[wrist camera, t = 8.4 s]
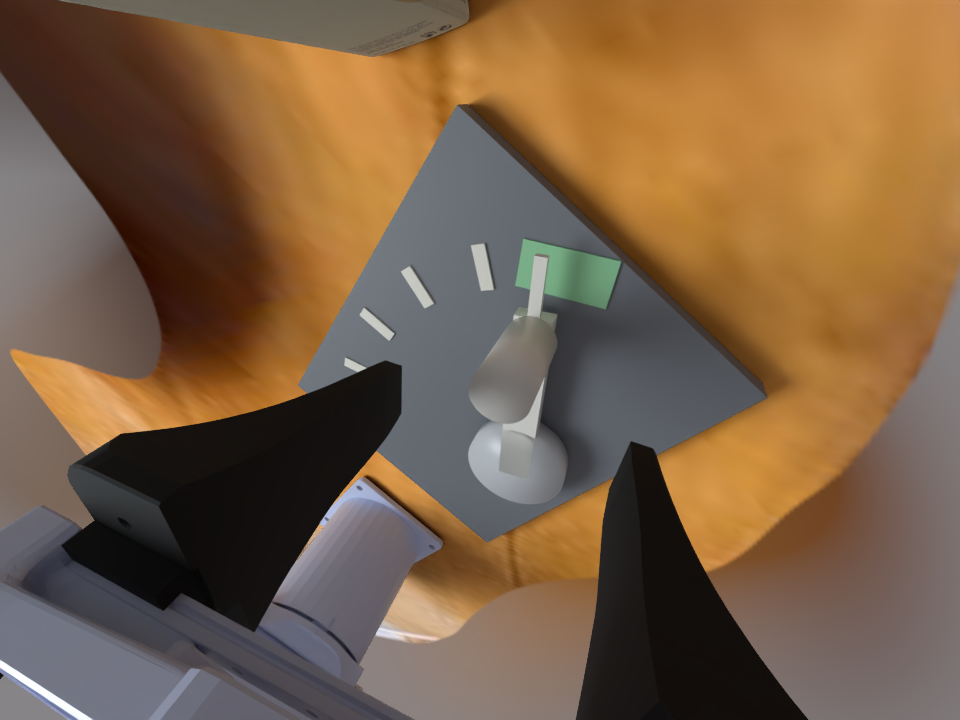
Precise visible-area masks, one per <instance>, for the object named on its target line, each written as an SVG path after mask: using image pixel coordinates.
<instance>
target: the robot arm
mask: <svg viewBox="0 0 960 720" xmlns="http://www.w3.org/2000/svg"><path fill="white" fill-rule="evenodd" d="M401 411H402V366H401V365H398V364H395V363H392V362H389V361H386V360H385V361H382V362H380V363H377V364H375V365H373V366H370V367H368V368H366V369H364V370H362V371H359V372H357V373H355V374H353V375H351V376H348V377H346V378H344V379H341V380H339V381H337V382H335V383H332V384H330V385H328V386H325V387H323V388H320V389H318V390H315V391H313V392H310V393H308V394H305V395H302V396H300V397H297V398H295V399H292V400H289V401H286V402H283V403H280V404H277V405H274V406H270V407H267V408H264V409H261V410H257V411H253V412H249V413H245V414H241V415H237V416H233V417H229V418H224V419H220V420H215V421H210V422H205V423H200V424H194V425H188V426H182V427H175V428H168V429H160V430H151V431H143V432H134V433H123V434H120V435H118V436H117V437H115V438H114V439H112V440H110V441H109V442H107V443H106V444H104V445H102V446H101V447H99V448H98V449H96V450H94V451H93V452H91V453H90V454H88V455H86V456H85V457H83V458H82V459H80V460H78V461H77V462H75V463H74V464H72V465H71V466H70V467H69V470H68V478H69V482H70V484H71V485H72V487H73V489H74V490H75V492H76V493H77V495H78V496H79V498H80V499H81V501H82V502H83V504H84V505H85V507H86V508H87V509H88V511H89V513H90V514H91V516H92V517H93V518H94V520H95V521H93V522H92V523H91V524H89V525H88V526H87V527H85V528H84V529H82V528H81V527H79V526H78V525H77V524H76V523H75V522H73V521H72V520H70V519H68V518H66V517H64V516H62V515H61V514H59V513H57V512H55V511H53V510H51V509H49V508H47V507H45V506H37V507H36V508H34V509H33V510H31V511H29V512H28V513H26V514H25V515H23V516H22V517H20V518H19V519H17V520H16V521H14V522H13V523H11V524H10V525H8V526H7V527H5V528H3V529H2V530H0V673H2V674H3V675H5V676H6V677H8V678H9V679H10V680H12V681H13V682H15V683H16V684H18V685H19V686H20V687H22V688H23V689H25V690H26V691H28V692H29V693H31V694H32V695H33V696H35V697H36V698H38V699H39V700H41V701H42V702H44V703H45V704H46V705H48V706H49V707H51V708H52V709H53V710H55V711H56V712H58V713H59V714H61V715H62V716H64V717H65V718H66V719H68V720H414V719H413V718H411V717H409V716H407V715H405V714H403V713H402V712H400V711H398V710H396V709H394V708H392V707H390V706H388V705H387V704H385V703H383V702H381V701H379V700H378V699H376V698H374V697H372V696H370V695H368V694H366V693H365V692H363V689H362V687H360V686H359V685H358V684H356V683H357V682H358V680H359V678H360V676H361V674H362V672H363V670H364V669H363V668H362V667H361V666H360V665H359V664H360V662H361V660H362V658H363V656H364V654H365V653H366V651H367V649H368V647H369V645H370V643H371V642H372V640H373V638H374V636H375V634H376V632H377V630H378V629H379V627H380V625H381V623H382V621H383V619H384V617H385V616H386V614H387V612H388V610H389V608H390V606H391V604H392V603H393V601H394V599H395V597H396V595H397V593H398V591H399V590H400V588H401V586H402V584H403V582H404V580H405V578H406V577H407V575H408V573H409V571H410V569H411V567H412V565H413V564H415V563H416V562H418V561H420V560H422V559H423V558H425V557H427V556H429V555H430V554H432V553H434V552H436V551H438V550H439V549H441V547H442V545H443V542H442V540H441V539H440V538H439V537H437V536H436V535H435V534H434V533H433V532H431V531H430V530H429V529H428V528H426V527H425V526H424V525H423V524H422V523H420V522H419V521H418V520H417V519H416V518H414V517H413V516H412V515H411V514H409V513H408V512H407V511H406V510H405V509H403V508H402V507H401V506H400V505H398V504H397V503H396V502H395V501H394V500H392V499H391V498H390V497H389V496H388V495H386V494H385V493H384V492H383V491H381V490H380V489H379V488H378V487H377V486H375V485H374V484H373V483H372V482H371V481H369V480H368V479H367V478H365V477H360V478H359V479H358V480H357V481H356V482H355V483H354V484H353V485H352V486H351V487H350V488H349V489H348V490H347V491H346V492H345V493H344V494H343V495H342V496H341V497H340V498H339V499H338V500H337V501H336V502H335V503H334V501H335V500H336V499H337V498H338V496H339V495H340V494H341V492H342V491H343V490H344V489H345V487H346V486H347V485H348V484H349V483H350V481H351V480H352V479H353V478H354V477H355V475H356V474H357V473H358V472H359V471H360V470H361V468H362V467H363V466H364V465H365V464H366V462H367V461H368V460H369V459H370V458H371V456H372V455H373V454H374V453H375V452H376V450H377V449H378V448H379V447H380V445H381V444H382V443H383V442H384V440H385V439H386V438H387V436H388V435H389V433H390V432H391V430H392V429H393V427H394V425H395V424H396V422H397V420H398V419H399V417H400V415H401ZM333 503H334V504H333ZM332 504H333V505H332ZM319 524H321V525H322V526H323V529H322V530H321V531H320V532H319V534H318V535H317V536H316V537H315V539H314V540H313V541H312V542H311V544H310V545H309V546H308V547H307V549H306V550H305V551H304V553H303V554H302V555H301V556H300V558H299V559H298V560H297V558H298V556H299V555H300V553H301V551H302V550H303V548H304V547H305V545H306V544H307V542H308V541H309V539H310V537H311V536H312V534H313V533H314V531H315V530H316V528H317V527H318V525H319ZM296 560H297V561H296ZM295 561H296V563H295ZM294 563H295V564H294ZM576 720H808V719H807V717H806V716H805V715H804V714H803V713H802V711H801V710H800V709H799V708H798V706H797V705H796V704H795V703H794V702H793V700H792V699H791V698H790V697H789V695H788V694H787V693H786V692H785V690H784V689H783V688H782V686H781V685H780V684H779V682H778V681H777V680H776V678H775V677H774V676H773V674H772V673H771V672H770V670H769V669H768V668H767V666H766V665H765V664H764V662H763V661H762V660H761V658H760V657H759V655H758V654H757V653H756V651H755V650H754V648H753V647H752V646H751V644H750V643H749V641H748V639H747V638H746V636H745V635H744V633H743V632H742V630H741V629H740V628H739V626H738V625H737V623H736V622H735V620H734V619H733V617H732V616H731V614H730V613H729V611H728V609H727V608H726V606H725V605H724V603H723V601H722V600H721V598H720V596H719V595H718V593H717V591H716V590H715V588H714V586H713V584H712V583H711V581H710V579H709V577H708V576H707V574H706V572H705V570H704V568H703V566H702V565H701V563H700V561H699V559H698V557H697V555H696V553H695V551H694V549H693V547H692V545H691V543H690V540H689V538H688V536H687V534H686V532H685V530H684V528H683V525H682V523H681V521H680V518H679V516H678V514H677V511H676V509H675V506H674V504H673V501H672V499H671V496H670V494H669V491H668V488H667V486H666V483H665V480H664V477H663V474H662V471H661V468H660V465H659V462H658V459H657V455H656V452H655V451H654V449H653V448H651V447H648V446H645V445H642V444H639V443H636V442H632V441H631V442H630V444H629V446H628V448H627V451H626V453H625V455H624V457H623V459H622V462H621V464H620V466H619V468H618V470H617V473H616V475H615V477H614V479H613V482H612V484H611V486H610V488H609V493H608V498H607V503H606V508H605V513H604V518H603V526H602V539H601V552H600V566H599V580H598V594H597V604H596V612H595V619H594V624H593V630H592V636H591V642H590V648H589V653H588V659H587V664H586V669H585V675H584V680H583V686H582V691H581V696H580V701H579V706H578V711H577V716H576Z"/></svg>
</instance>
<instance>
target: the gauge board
mask: <svg viewBox="0 0 960 720" xmlns="http://www.w3.org/2000/svg"><path fill="white" fill-rule="evenodd" d="M536 253H538V254H544V255H550V256H549V264H548V271H547V278H546V285H545V293H544V300H543V307H542V311H543V312H548V313H553V314H557V320H556V326H555V334H556V337H557V349H556V352H555V354H554V356H553V359H552V361H551V363H550V366H549V370H548V376H547V382H546V388H545V394H544V401H543V407H542V413H541V419H540V423H542V424H544V425H545V426H547V427H548V428H550V429H551V430H552V431H553V432H554V433H555V434H556V435H557V436H558V437H559V438H560V440H561V441H562V443H563V444H564V446H565V448H566V451H567V454H568V468H567V472H566V475H565V479H564V483H563V486H562V489H561V491H560V492H559V493H558V495H557V496H555V497H554V498H553V499H551V500H549V501H547V502H544V503H540V504H521V503H516V502H512V501H509V500H506V499H504V498H502V497H500V496H498V495H496V494H494V493H493V492H491V491H490V490H489V489H487V488H486V487H485V486H484V485H483V484H482V483H481V482H480V481H479V480H478V479H477V477H476V476H475V475H474V473H473V471H472V469H471V467H470V464H469V459H468V452H469V448H470V445H471V443H472V441H473V440H474V438H475V436H476V434H477V432H478V431H479V429H480V427H481V426H482V425H483V424H484V423H485V422H486V421H487V420H489V419H488V418H486V417H485V416H483V415H482V414H481V413H480V412H479V411H478V410H477V409H476V408H475V407H474V405H473V404H472V402H471V400H470V397H469V393H468V387H469V383H470V381H471V379H472V377H473V376H474V374H475V373H476V371H477V370H478V369H479V367H480V366H481V364H482V363H483V361H484V360H485V358H486V357H487V355H488V354H489V352H490V351H491V350H492V348H493V347H494V345H495V344H496V342H497V341H498V339H499V338H500V336H501V335H502V333H503V332H504V331H505V329H506V328H507V326H508V325H509V323H510V322H511V321H513V316H514V313H515V312H516V311H517V309H518V308H519V307H523V308H528V305H529V296H530V288H531V279H532V271H533V262H534V255H535V254H536ZM385 360H386V361H389V362H392V363H395V364H398V365H401V366H402V411H401V415H400V417H399V419H398V420H397V422H396V424H395V425H394V427H393V429H392V430H391V432H390V433H389V435H388V436H387V438H386V439H385V440H384V442H383V443H382V444H381V445H380V447H379V448H378V449H377V450H376V451H377V452H379V453H380V454H381V455H382V456H383V457H385V458H386V459H387V460H388V461H389V462H391V463H392V464H393V465H394V466H395V467H397V468H398V469H399V470H400V471H402V472H403V473H404V474H405V475H406V476H408V477H409V478H410V479H411V480H412V481H414V482H415V483H416V484H417V485H418V486H420V487H421V488H422V489H423V490H424V491H426V492H427V493H428V494H429V495H430V496H432V497H433V498H434V499H435V500H436V501H438V502H439V503H440V504H441V505H442V506H444V507H445V508H446V509H447V510H448V511H450V512H451V513H452V514H453V515H454V516H456V517H457V518H458V519H459V520H460V521H462V522H463V523H464V524H465V525H466V526H468V527H469V528H470V529H471V530H472V531H474V532H475V533H476V534H477V535H478V536H480V537H481V538H482V539H483V540H484V541H486V542H489V541H491V540H493V539H495V538H497V537H499V536H500V535H502V534H504V533H506V532H508V531H510V530H512V529H514V528H516V527H518V526H520V525H522V524H524V523H526V522H528V521H530V520H532V519H533V518H535V517H537V516H539V515H541V514H543V513H545V512H547V511H549V510H551V509H553V508H555V507H557V506H559V505H561V504H563V503H564V502H566V501H568V500H570V499H572V498H574V497H576V496H578V495H580V494H582V493H584V492H586V491H588V490H590V489H592V488H594V487H596V486H597V485H599V484H601V483H603V482H605V481H607V480H609V479H611V478H613V477H615V475H616V473H617V470H618V468H619V466H620V464H621V462H622V459H623V457H624V455H625V453H626V451H627V448H628V446H629V444H630V442H631V441H632V442H636V443H639V444H642V445H645V446H648V447H651V448H653V449H654V451H655V452H656V455H658V454H660V453H661V452H663V451H665V450H667V449H669V448H671V447H673V446H675V445H677V444H679V443H681V442H683V441H685V440H687V439H689V438H691V437H693V436H694V435H696V434H698V433H700V432H702V431H704V430H706V429H708V428H710V427H712V426H714V425H716V424H718V423H720V422H722V421H724V420H726V419H727V418H729V417H731V416H733V415H735V414H737V413H739V412H741V411H743V410H745V409H747V408H749V407H751V406H753V405H755V404H757V403H758V402H760V401H762V400H764V399H766V398H767V395H766V392H765V389H764V386H763V383H762V382H760V381H759V380H758V379H757V378H756V377H755V376H754V375H753V374H752V373H751V372H750V371H749V370H748V369H747V368H746V367H745V366H744V365H742V364H741V363H740V362H739V361H738V360H737V359H736V358H735V357H734V356H733V355H732V354H731V353H730V352H729V351H728V350H727V349H726V348H725V347H723V346H722V345H721V344H720V343H719V342H718V341H717V340H716V339H715V338H714V337H713V336H712V335H711V334H710V333H709V332H708V331H707V330H706V329H704V328H703V327H702V326H701V325H700V324H699V323H698V322H697V321H696V320H695V319H694V318H693V317H692V316H691V315H690V314H689V313H688V312H687V311H685V310H684V309H683V308H682V307H681V306H680V305H679V304H678V303H677V302H676V301H675V300H674V299H673V298H672V297H671V296H670V295H669V294H668V293H666V292H665V291H664V290H663V289H662V288H661V287H660V286H659V285H658V284H657V283H656V282H655V281H654V280H653V279H652V278H651V277H650V276H648V275H647V274H646V273H645V272H644V271H643V270H642V269H641V268H640V267H639V266H638V265H637V264H636V263H635V262H634V261H633V260H632V259H631V258H629V257H628V256H627V255H626V254H625V253H624V252H623V251H622V250H621V249H620V248H619V247H618V246H617V245H616V244H615V243H614V242H613V241H612V240H610V239H609V238H608V237H607V236H606V235H605V234H604V233H603V232H602V231H601V230H600V229H599V228H598V227H597V226H596V225H595V224H594V223H593V222H591V221H590V220H589V219H588V218H587V217H586V216H585V215H584V214H583V213H582V212H581V211H580V210H579V209H578V208H577V207H576V206H575V205H574V204H572V203H571V202H570V201H569V200H568V199H567V198H566V197H565V196H564V195H563V194H562V193H561V192H560V191H559V190H558V189H557V188H556V187H554V186H553V185H552V184H551V183H550V182H549V181H548V180H547V179H546V178H545V177H544V176H543V175H542V174H541V173H540V172H539V171H538V170H537V169H535V168H534V167H533V166H532V165H531V164H530V163H529V162H528V161H527V160H526V159H525V158H524V157H523V156H522V155H521V154H520V153H519V152H518V151H516V150H515V149H514V148H513V147H512V146H511V145H510V144H509V143H508V142H507V141H506V140H505V139H504V138H503V137H502V136H501V135H500V134H499V133H497V132H496V131H495V130H494V129H493V128H492V127H491V126H490V125H489V124H488V123H487V122H486V121H485V120H484V119H483V118H482V117H481V116H479V115H478V114H477V113H476V112H475V111H474V110H473V109H472V108H471V107H470V106H469V105H468V104H462V105H457V106H456V107H455V109H454V111H453V113H452V115H451V116H450V118H449V120H448V122H447V123H446V125H445V127H444V129H443V130H442V132H441V134H440V136H439V137H438V139H437V141H436V143H435V144H434V146H433V148H432V150H431V152H430V153H429V155H428V157H427V159H426V160H425V162H424V164H423V166H422V167H421V169H420V171H419V173H418V174H417V176H416V178H415V180H414V181H413V183H412V185H411V187H410V189H409V190H408V192H407V194H406V196H405V197H404V199H403V201H402V203H401V204H400V206H399V208H398V210H397V211H396V213H395V215H394V217H393V218H392V220H391V222H390V224H389V226H388V227H387V229H386V231H385V233H384V234H383V236H382V238H381V240H380V241H379V243H378V245H377V247H376V248H375V250H374V252H373V254H372V255H371V257H370V259H369V261H368V263H367V264H366V266H365V268H364V270H363V271H362V273H361V275H360V277H359V278H358V280H357V282H356V284H355V285H354V287H353V289H352V291H351V292H350V294H349V296H348V298H347V300H346V301H345V303H344V305H343V307H342V308H341V310H340V312H339V314H338V315H337V317H336V319H335V321H334V322H333V324H332V326H331V328H330V329H329V331H328V333H327V335H326V337H325V338H324V340H323V342H322V344H321V345H320V347H319V349H318V351H317V352H316V354H315V356H314V358H313V359H312V361H311V363H310V365H309V366H308V368H307V370H306V372H305V374H304V375H303V377H302V379H301V381H300V382H299V384H298V386H299V387H301V388H302V389H303V390H304V391H305V392H307V393H310V392H313V391H315V390H318V389H320V388H323V387H325V386H328V385H330V384H332V383H335V382H337V381H339V380H341V379H344V378H346V377H348V376H351V375H353V374H355V373H357V372H359V371H362V370H364V369H366V368H368V367H370V366H373V365H375V364H377V363H380V362H382V361H385Z"/></svg>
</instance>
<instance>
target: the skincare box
mask: <svg viewBox="0 0 960 720" xmlns="http://www.w3.org/2000/svg"><path fill="white" fill-rule="evenodd" d="M60 1H65V2H70V3H77V4H83V5H89V6H94V7H98V8H104V9H109V10H115V11H120V12H126V13H132V14H138V15H143V16H149V17H155V18H160V19H166V20H172V21H176V22H181V23H186V24H192V25H197V26H202V27H208V28H213V29H218V30H224V31H230V32H235V33H241V34H247V35H252V36H257V37H263V38H270V39H274V40H279V41H286V42H291V43H297V44H302V45H307V46H313V47H319V48H325V49H330V50H336V51H341V52H346V53H352V54H357V55H363V56H368V57H376V56H380V55H383V54H386V53H389V52H392V51H395V50H398V49H401V48H404V47H407V46H410V45H413V44H416V43H419V42H422V41H425V40H427V39H430V38H433V37H435V36H438V35H440V34H442V33H445V32H447V31H449V30H452V29H454V28H456V27H459V26H461V25H463V24H465V23H467V22H468V20H469V6H468V0H60Z"/></svg>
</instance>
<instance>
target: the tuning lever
mask: <svg viewBox="0 0 960 720" xmlns="http://www.w3.org/2000/svg"><path fill="white" fill-rule="evenodd" d="M549 256H550V255H544V254H538V253H536V254H535V255H534V262H533V271H532V279H531V288H530V296H529V305H528V308H523V307H519V308H518V309H517V311H516V312H515V313H514V316H513V321H511V322H510V323H509V325H508V326H507V328H506V329H505V331H504V332H503V333H502V335H501V336H500V338H499V339H498V341H497V342H496V344H495V345H494V347H493V348H492V350H491V351H490V352H489V354H488V355H487V357H486V358H485V360H484V361H483V363H482V364H481V366H480V367H479V369H478V370H477V371H476V373H475V374H474V376H473V377H472V379H471V381H470V383H469V387H468V393H469V397H470V400H471V402H472V404H473V405H474V407H475V408H476V409H477V410H478V411H479V412H480V413H481V414H482V415H483V416H485V417H486V418H488V419H489V420H487V421H486V422H485V423H484V424H483V425H482V426H481V427H480V429H479V431H478V432H477V434H476V436H475V438H474V440H473V441H472V443H471V445H470V448H469V452H468V459H469V464H470V467H471V469H472V471H473V473H474V475H475V476H476V477H477V479H478V480H479V481H480V482H481V483H482V484H483V485H484V486H485V487H486V488H487V489H489V490H490V491H491V492H493V493H494V494H496V495H498V496H500V497H502V498H504V499H506V500H509V501H512V502H516V503H521V504H540V503H544V502H547V501H549V500H551V499H553V498H554V497H555V496H557V495H558V493H559V492H560V491H561V489H562V486H563V483H564V479H565V475H566V472H567V468H568V454H567V451H566V448H565V446H564V444H563V443H562V441H561V440H560V438H559V437H558V436H557V435H556V434H555V433H554V432H553V431H552V430H551V429H550V428H548V427H547V426H545V425H544V424H542V423H540V419H541V413H542V407H543V401H544V394H545V388H546V382H547V376H548V370H549V366H550V363H551V361H552V359H553V356H554V354H555V352H556V349H557V337H556V334H555V326H556V320H557V314H553V313H548V312H543V311H542V307H543V300H544V293H545V285H546V278H547V271H548V264H549Z"/></svg>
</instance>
